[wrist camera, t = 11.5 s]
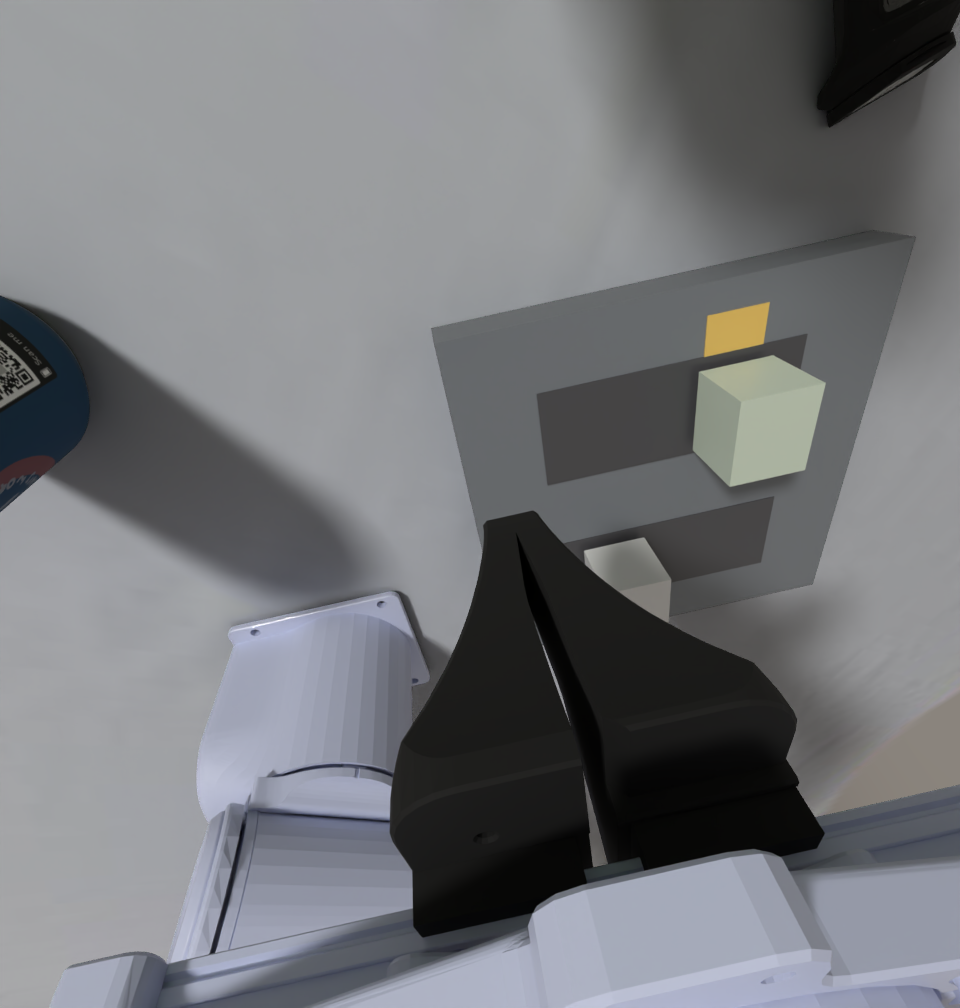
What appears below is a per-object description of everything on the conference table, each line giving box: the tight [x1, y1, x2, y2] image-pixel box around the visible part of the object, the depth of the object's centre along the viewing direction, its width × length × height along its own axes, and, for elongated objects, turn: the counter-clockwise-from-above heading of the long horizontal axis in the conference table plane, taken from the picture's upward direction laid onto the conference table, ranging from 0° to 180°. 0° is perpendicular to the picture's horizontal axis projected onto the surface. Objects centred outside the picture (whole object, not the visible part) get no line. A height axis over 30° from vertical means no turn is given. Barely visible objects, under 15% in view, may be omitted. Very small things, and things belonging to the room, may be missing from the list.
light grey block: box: [584, 537, 671, 623], centre depth 24 cm, size 3×4×3 cm
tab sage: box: [693, 355, 826, 487], centre depth 20 cm, size 3×4×3 cm
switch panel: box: [431, 230, 916, 645], centre depth 24 cm, size 18×18×2 cm
